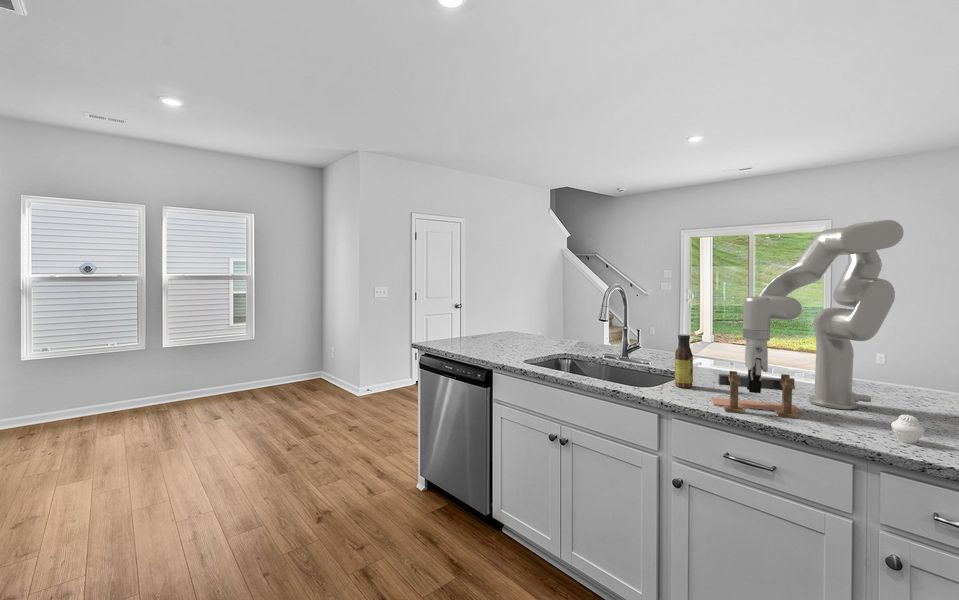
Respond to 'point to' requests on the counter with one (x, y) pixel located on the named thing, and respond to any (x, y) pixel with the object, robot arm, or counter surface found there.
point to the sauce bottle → (683, 363)
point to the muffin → (907, 429)
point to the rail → (744, 380)
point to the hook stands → (785, 412)
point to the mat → (754, 404)
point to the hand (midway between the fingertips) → (753, 390)
